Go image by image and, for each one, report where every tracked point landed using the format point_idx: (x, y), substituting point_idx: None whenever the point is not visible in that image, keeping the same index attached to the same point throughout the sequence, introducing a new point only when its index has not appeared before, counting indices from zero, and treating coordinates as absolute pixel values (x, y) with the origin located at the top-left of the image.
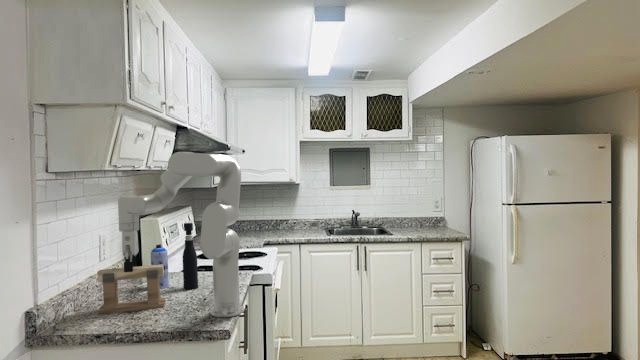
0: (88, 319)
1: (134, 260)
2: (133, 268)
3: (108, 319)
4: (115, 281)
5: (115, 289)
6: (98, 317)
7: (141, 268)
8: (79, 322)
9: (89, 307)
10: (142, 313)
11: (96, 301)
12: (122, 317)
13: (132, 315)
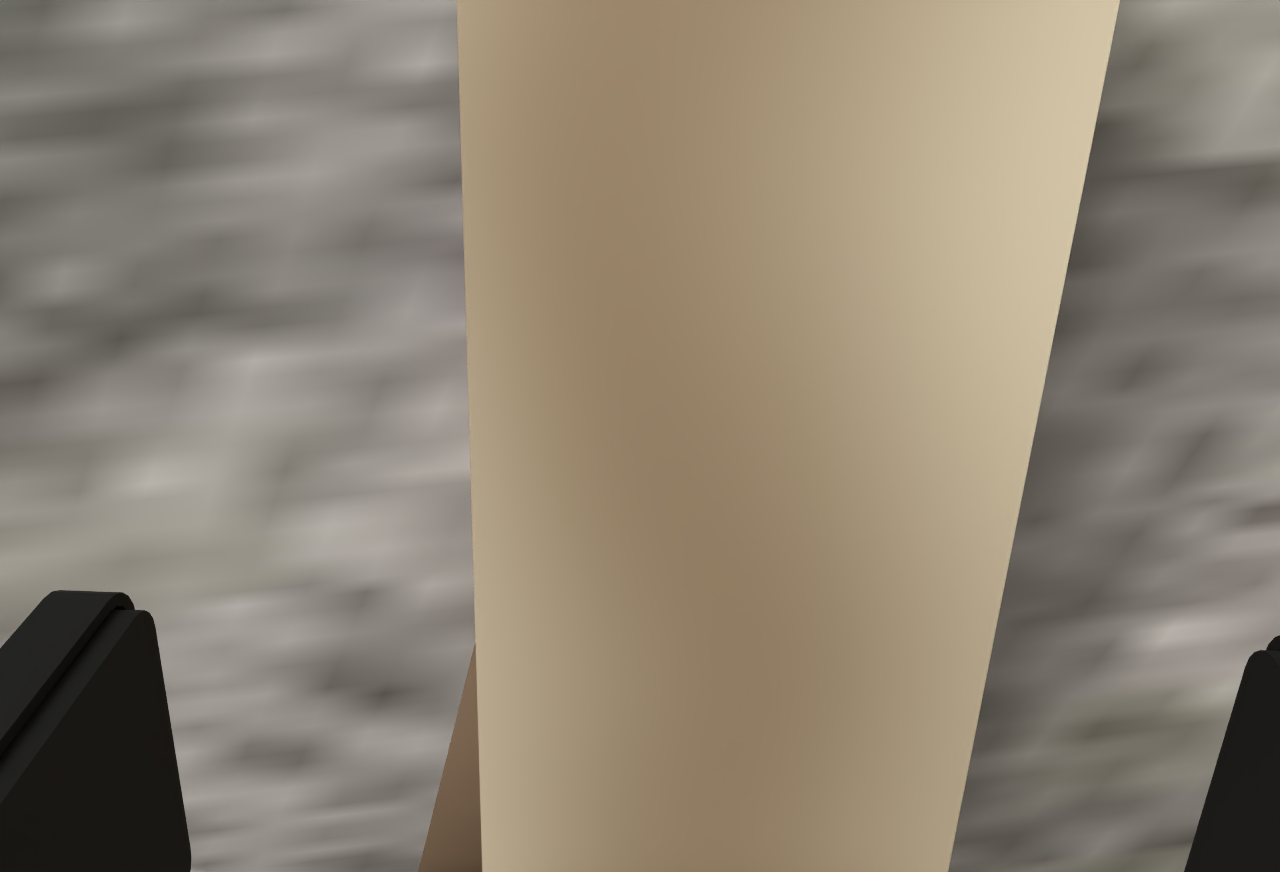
0: (1023, 789)
1: (14, 863)
2: (901, 663)
3: (1202, 544)
4: None
5: None
6: (999, 685)
7: (1063, 285)
8: (1102, 864)
9: (387, 856)
10: (1197, 8)
11: None
12: (1229, 350)
13: (1214, 191)
